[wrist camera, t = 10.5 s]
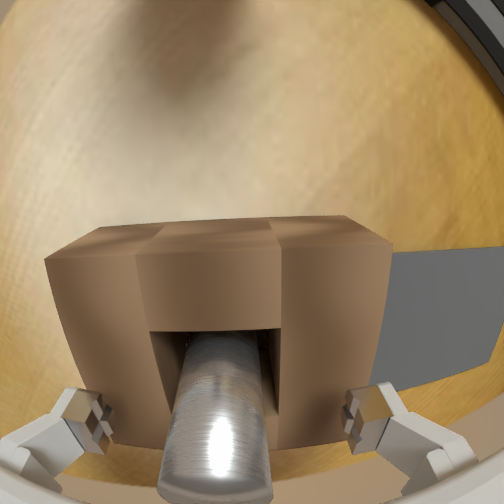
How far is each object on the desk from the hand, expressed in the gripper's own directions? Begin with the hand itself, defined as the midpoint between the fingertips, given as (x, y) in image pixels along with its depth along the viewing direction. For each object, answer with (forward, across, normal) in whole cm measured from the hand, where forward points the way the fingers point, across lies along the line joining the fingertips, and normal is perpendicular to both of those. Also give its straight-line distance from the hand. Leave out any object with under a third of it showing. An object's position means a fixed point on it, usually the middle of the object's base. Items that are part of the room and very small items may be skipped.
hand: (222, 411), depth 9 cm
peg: (+7, 0, 0) cm, 7 cm away
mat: (+7, -14, +2) cm, 15 cm away
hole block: (+7, 0, 0) cm, 7 cm away
